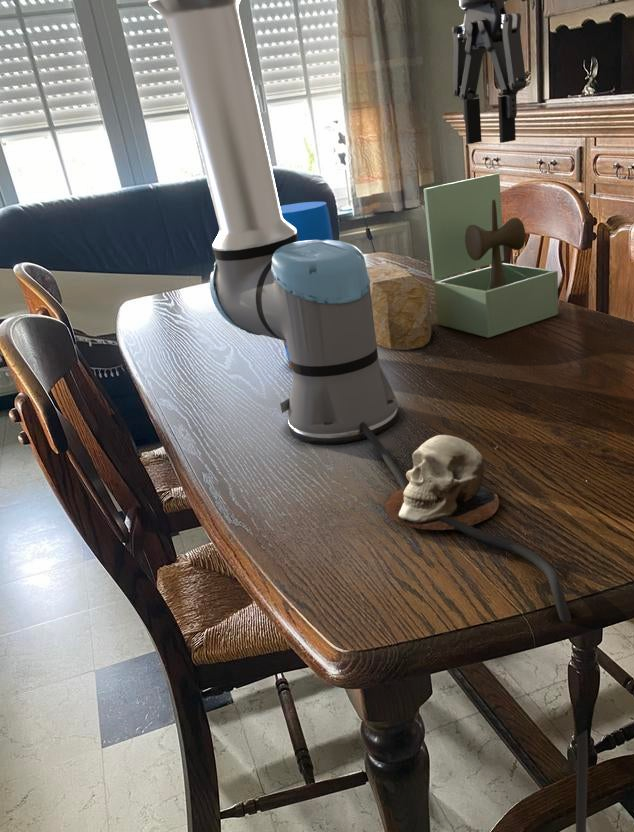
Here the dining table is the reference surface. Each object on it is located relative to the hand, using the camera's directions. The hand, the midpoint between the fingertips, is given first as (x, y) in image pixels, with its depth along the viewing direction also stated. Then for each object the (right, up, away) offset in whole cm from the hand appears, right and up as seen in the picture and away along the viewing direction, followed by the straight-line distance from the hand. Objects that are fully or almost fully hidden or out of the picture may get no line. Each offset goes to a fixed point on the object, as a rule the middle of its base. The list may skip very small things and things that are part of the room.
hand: (490, 142), depth 123 cm
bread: (-17, -25, +21) cm, 37 cm away
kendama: (+4, -25, +14) cm, 29 cm away
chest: (+3, -26, +15) cm, 30 cm away
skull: (-11, -61, -44) cm, 76 cm away
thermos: (-29, -35, +6) cm, 46 cm away
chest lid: (-2, -9, +12) cm, 16 cm away
